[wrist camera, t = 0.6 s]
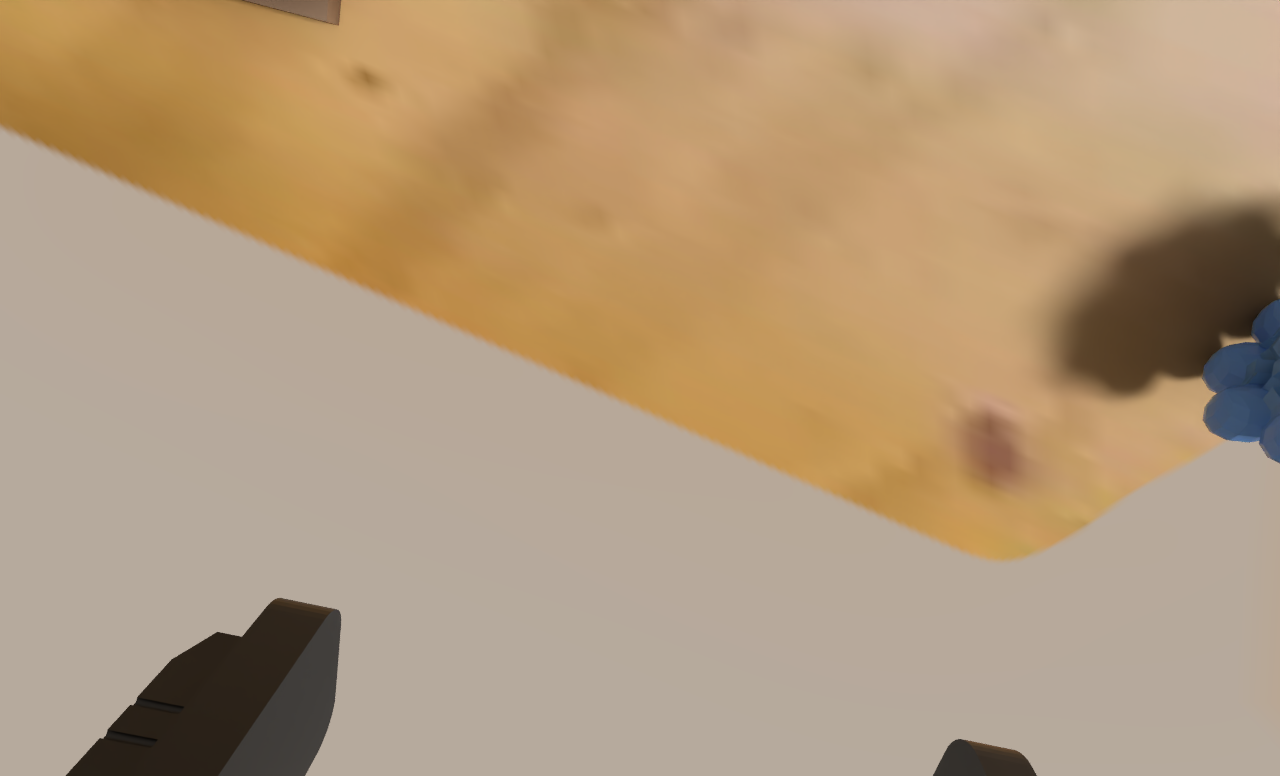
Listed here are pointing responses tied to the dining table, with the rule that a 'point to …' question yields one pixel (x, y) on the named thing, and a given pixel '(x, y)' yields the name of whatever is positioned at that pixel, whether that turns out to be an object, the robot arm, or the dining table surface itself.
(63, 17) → the dining table surface
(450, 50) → the dining table surface
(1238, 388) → the grapes
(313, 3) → the stool base plate
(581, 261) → the dining table surface
